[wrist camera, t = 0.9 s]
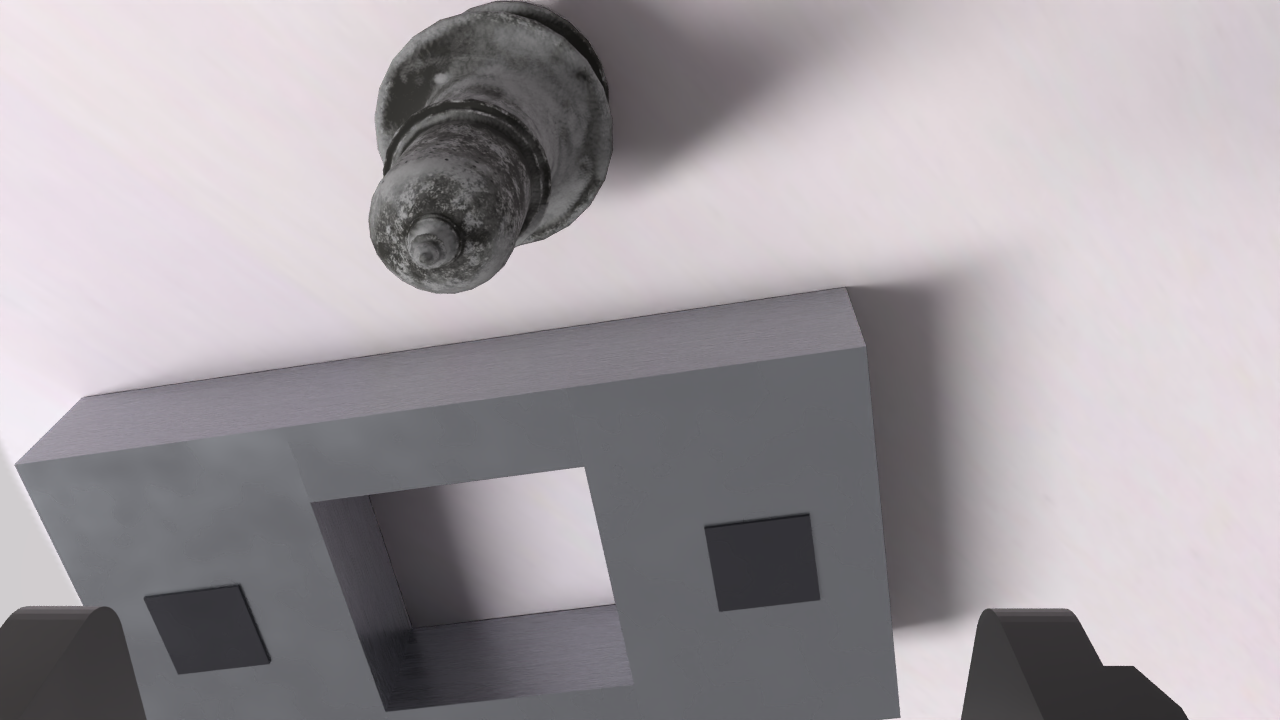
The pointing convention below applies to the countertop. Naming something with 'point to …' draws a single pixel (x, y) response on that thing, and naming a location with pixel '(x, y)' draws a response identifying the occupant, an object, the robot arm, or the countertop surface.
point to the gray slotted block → (485, 449)
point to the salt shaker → (486, 143)
